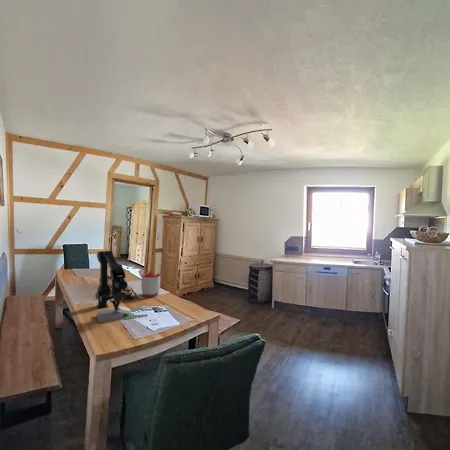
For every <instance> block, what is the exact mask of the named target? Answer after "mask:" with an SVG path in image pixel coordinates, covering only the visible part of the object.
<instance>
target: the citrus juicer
mask: <svg viewBox="0 0 450 450" xmlns="http://www.w3.org/2000/svg"><path fill="white" fill-rule="evenodd" d="M161 275H162V274H161V273H156V274H155V273H154V272H153V271H149V272H148V273H147V272H146V273H143V274H141V275H140V276H141V292H142V295H143V296H144V297H149V298H150V297H152V298H153V297H157V296H158V295H159V293H160V289H161Z"/></svg>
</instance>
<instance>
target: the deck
mask: <svg viewBox="0 0 450 450" xmlns="http://www.w3.org/2000/svg"><path fill="white" fill-rule="evenodd" d="M96 318H97V321H98V323H99V324H100V323H105V322H111V321H117V320H118V321H119V320H124V316H123V313H120V312H118V311H115V308H112V309H107V310H99V311H96Z"/></svg>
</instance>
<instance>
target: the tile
mask: <svg viewBox="0 0 450 450" xmlns="http://www.w3.org/2000/svg"><path fill="white" fill-rule="evenodd" d="M117 311H118V312H120V313H125V314H131V310H130V308H129V307H126V306H121V305H120V306H118V308H117Z"/></svg>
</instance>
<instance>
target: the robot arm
mask: <svg viewBox="0 0 450 450" xmlns="http://www.w3.org/2000/svg"><path fill="white" fill-rule="evenodd" d="M113 253H114V252H113V251H112V250H102V251H101V250H100V251H98V253H97V254H96V258H97V261H98V263H99V265H100V266H99V267H100V268H99V271H100V272H99V275H100V279H99V280H100V281H99V285H98V287H97V291H96V292H95V294H94V295H95V299H96V300H97V301H98V302H97V305H96V306H97V308H98V309H101V308H108V307H109V305H108V301H109V302H110V303H112V306H113V309H115V311H117V308H118V306H119V305H120V303H121V302H123V301H124V300H123V299H126V300H132V299H133V295H132V293H131V292H126V291H125V290H126V289H127V288H128V283H127V282H128V281H126V272H125V269H124V268H123V267H122V265H120V264H119V263H117V260H116V258H115V256H114V254H113ZM108 267H109V268H110V270H109V274H110V278H111V287H110V285H109V284H108ZM122 291H123V292H122Z"/></svg>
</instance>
